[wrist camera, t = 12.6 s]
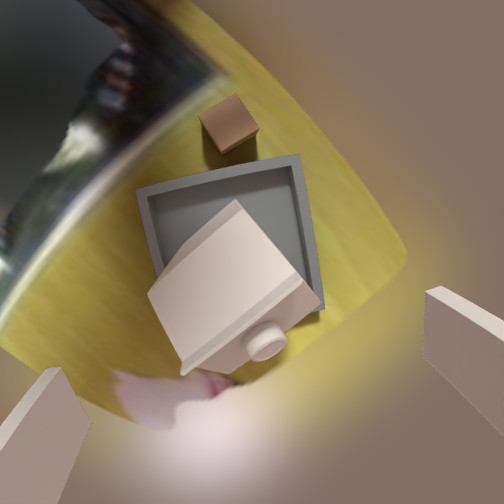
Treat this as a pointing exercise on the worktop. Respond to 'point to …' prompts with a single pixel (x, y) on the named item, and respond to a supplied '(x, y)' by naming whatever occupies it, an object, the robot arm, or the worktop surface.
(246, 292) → the milk carton
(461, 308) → the robot arm
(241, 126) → the walnut block
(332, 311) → the worktop surface
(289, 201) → the tray
